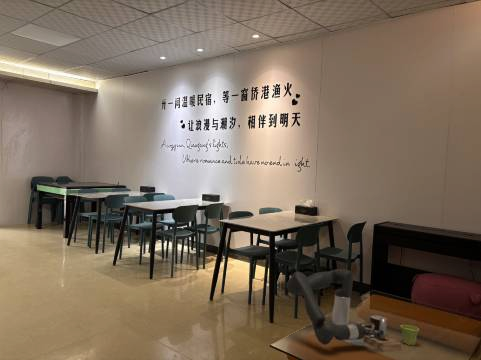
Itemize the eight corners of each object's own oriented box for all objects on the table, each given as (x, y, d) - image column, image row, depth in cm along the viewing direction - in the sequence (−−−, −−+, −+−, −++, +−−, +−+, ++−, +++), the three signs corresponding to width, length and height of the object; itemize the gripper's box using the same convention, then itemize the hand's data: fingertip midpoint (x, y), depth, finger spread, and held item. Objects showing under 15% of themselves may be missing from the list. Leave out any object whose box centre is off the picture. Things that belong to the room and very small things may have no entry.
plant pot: (415, 348, 200) (416, 331, 201) (397, 342, 206) (398, 326, 207) (420, 344, 207) (421, 328, 208) (403, 339, 213) (403, 323, 214)
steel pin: (377, 345, 199) (378, 318, 200) (381, 344, 200) (383, 318, 201) (381, 347, 196) (383, 320, 197) (386, 347, 198) (388, 319, 198)
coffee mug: (387, 339, 210) (388, 321, 211) (370, 337, 212) (372, 318, 213) (383, 333, 222) (384, 315, 222) (368, 330, 223) (369, 313, 224)
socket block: (363, 342, 202) (363, 335, 202) (380, 340, 207) (380, 334, 207) (383, 352, 189) (383, 345, 190) (400, 350, 194) (401, 343, 195)
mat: (337, 337, 206) (337, 336, 206) (351, 336, 210) (351, 335, 210) (355, 346, 193) (355, 346, 193) (370, 345, 198) (370, 344, 198)
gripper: (342, 334, 196) (366, 332, 203) (362, 344, 183) (387, 342, 190) (343, 319, 197) (367, 318, 203) (363, 329, 184) (388, 327, 190)
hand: (376, 329), depth 197 cm, fingers open, 8 cm apart
